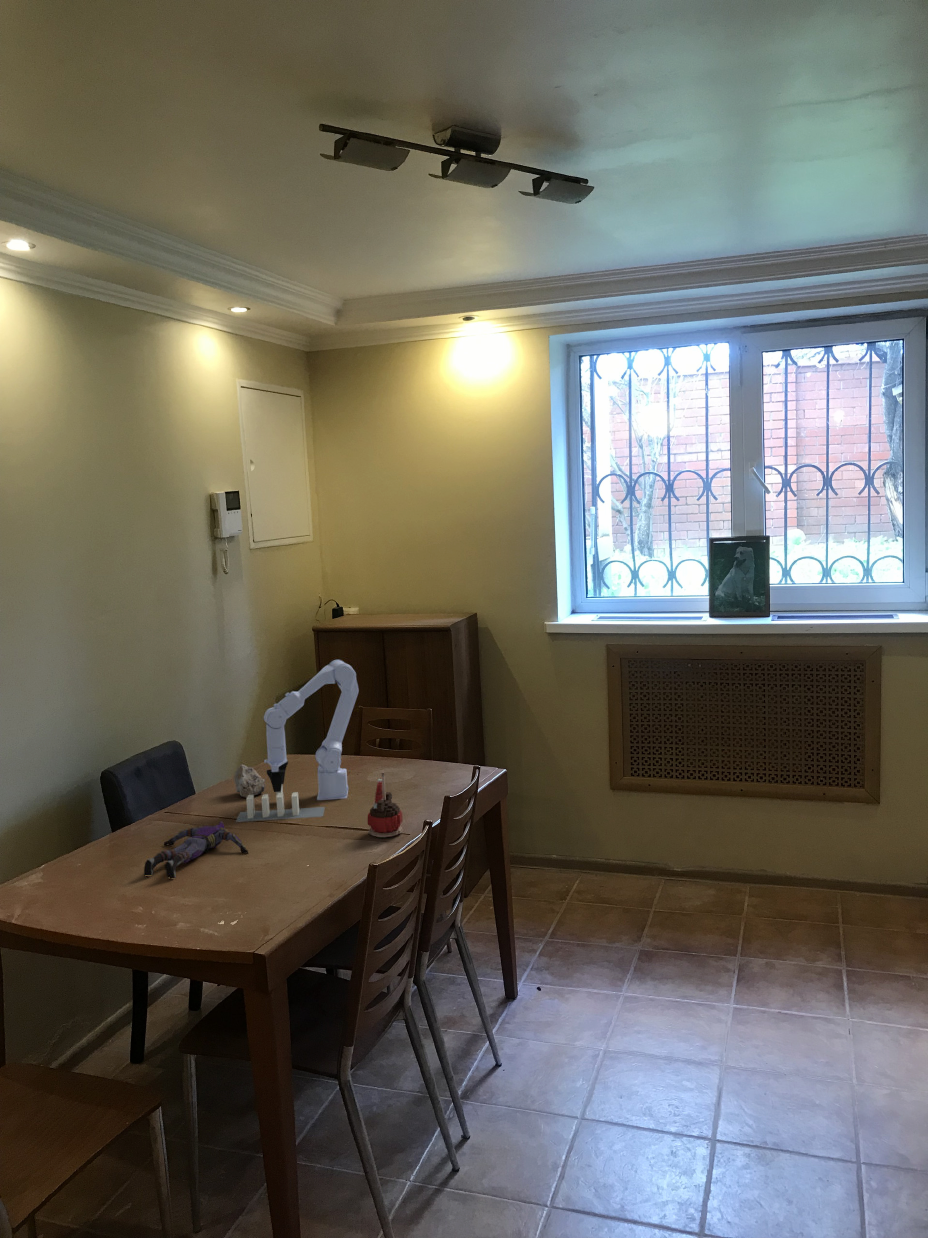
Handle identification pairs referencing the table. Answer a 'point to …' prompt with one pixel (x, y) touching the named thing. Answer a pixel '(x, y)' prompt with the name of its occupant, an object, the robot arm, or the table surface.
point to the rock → (248, 781)
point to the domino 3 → (279, 792)
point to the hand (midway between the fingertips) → (278, 788)
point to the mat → (287, 815)
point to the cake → (384, 813)
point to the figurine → (191, 847)
